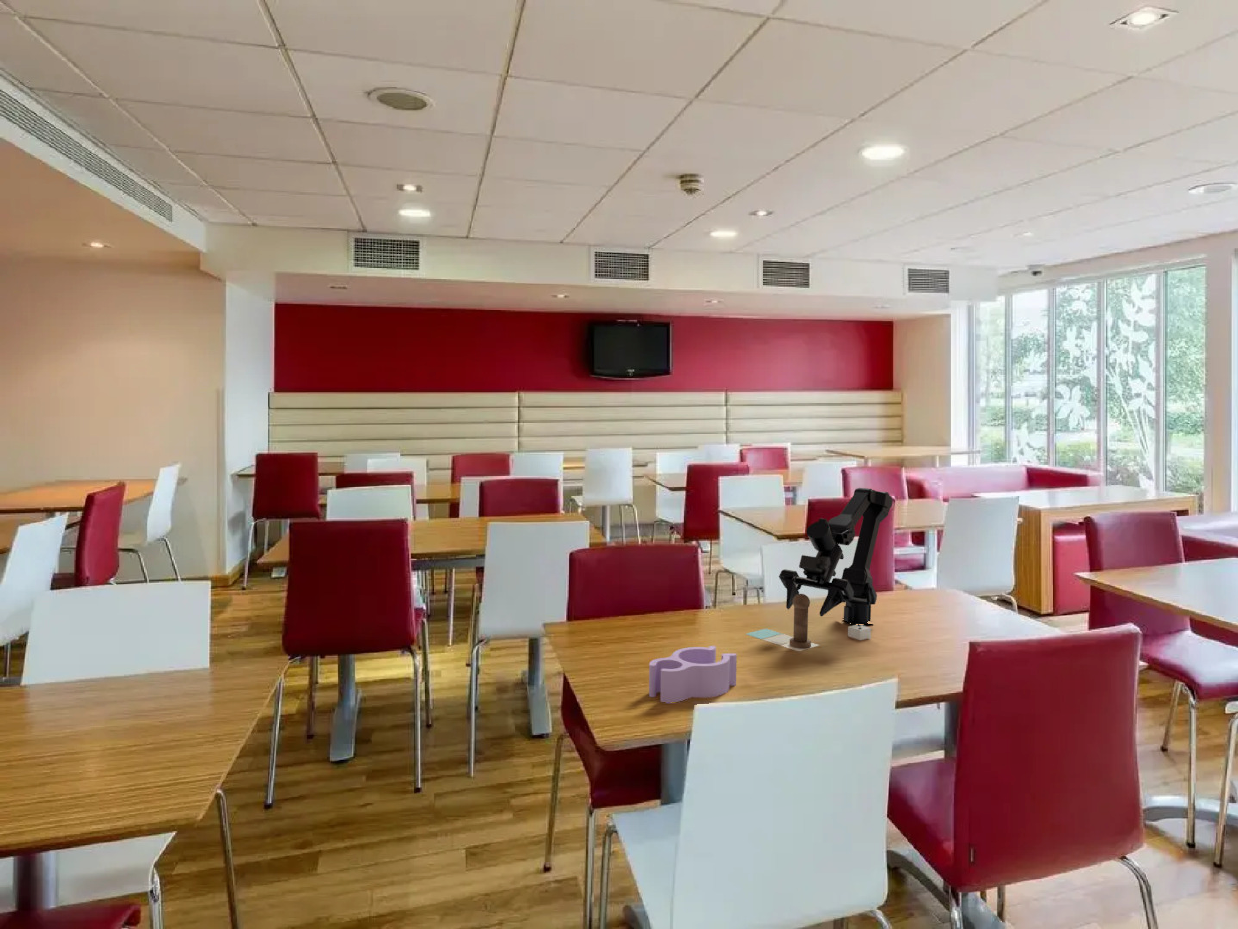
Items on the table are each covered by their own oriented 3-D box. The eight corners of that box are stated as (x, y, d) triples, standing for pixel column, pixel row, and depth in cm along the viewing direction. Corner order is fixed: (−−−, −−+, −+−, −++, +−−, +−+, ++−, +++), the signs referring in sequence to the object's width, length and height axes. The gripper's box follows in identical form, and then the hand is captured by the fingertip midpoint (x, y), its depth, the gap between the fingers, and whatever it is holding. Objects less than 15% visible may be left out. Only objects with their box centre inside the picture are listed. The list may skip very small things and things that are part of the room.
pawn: (804, 641, 189) (806, 591, 188) (814, 648, 184) (816, 596, 183) (786, 642, 188) (787, 592, 187) (795, 649, 183) (796, 597, 182)
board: (741, 638, 196) (741, 633, 196) (764, 632, 201) (764, 627, 201) (800, 658, 181) (800, 652, 181) (823, 650, 186) (823, 645, 186)
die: (858, 639, 196) (858, 623, 196) (870, 643, 193) (870, 626, 193) (847, 641, 194) (848, 625, 194) (860, 645, 191) (860, 629, 191)
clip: (674, 710, 150) (675, 676, 149) (637, 691, 160) (637, 659, 159) (744, 688, 161) (745, 657, 161) (705, 672, 171) (706, 642, 171)
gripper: (783, 539, 196) (760, 587, 188) (850, 548, 183) (828, 600, 176) (797, 564, 202) (775, 611, 195) (863, 574, 190) (842, 626, 182)
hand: (803, 611), depth 187 cm, fingers open, 9 cm apart
